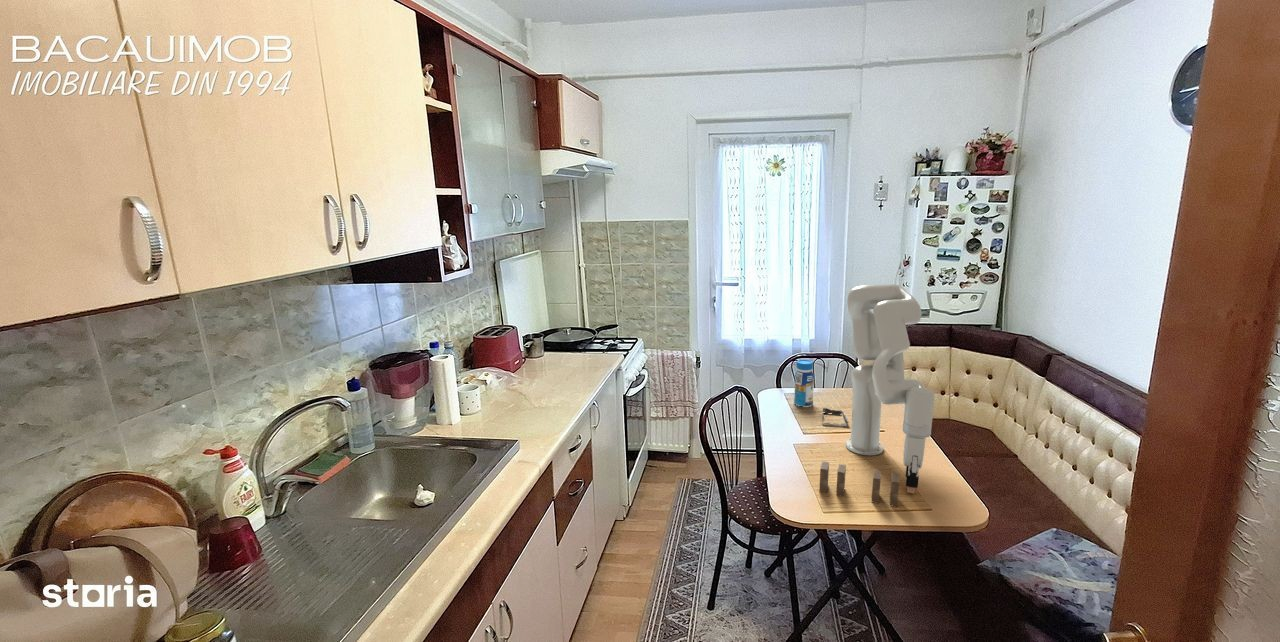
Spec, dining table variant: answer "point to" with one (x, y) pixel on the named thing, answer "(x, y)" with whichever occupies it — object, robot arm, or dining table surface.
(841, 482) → the domino
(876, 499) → the domino
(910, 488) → the domino
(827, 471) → the domino
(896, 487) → the domino
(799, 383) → the blue wipes canister
